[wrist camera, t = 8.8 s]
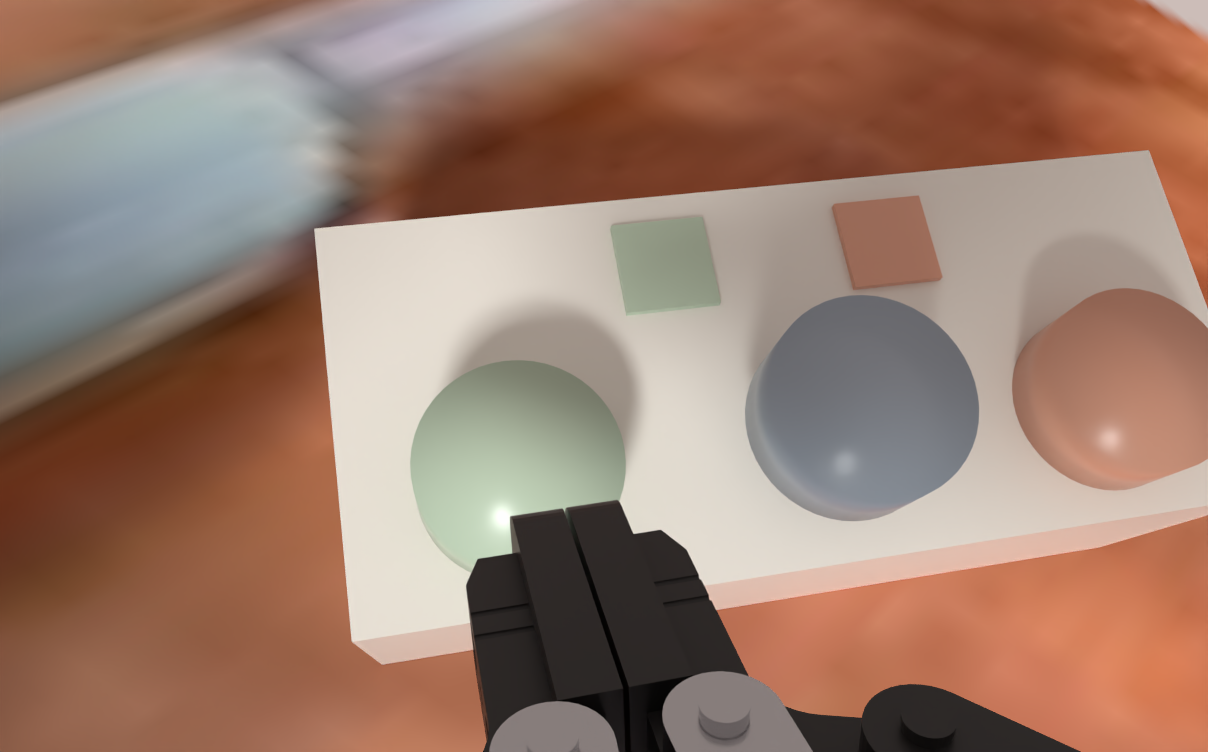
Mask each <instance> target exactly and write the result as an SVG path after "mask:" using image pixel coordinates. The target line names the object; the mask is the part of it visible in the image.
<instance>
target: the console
mask: <svg viewBox="0 0 1208 752" xmlns="http://www.w3.org/2000/svg"><path fill="white" fill-rule="evenodd" d="M314 231H315V242H316V253H317V264H318V275H319V285H320V296H321V307H322V318H323V329H324V340H325V351H326V362H327V373H328V384H329V395H330V406H331V417H332V428H333V439H334V450H335V461H336V472H337V483H338V494H339V505H340V516H341V527H342V538H343V549H344V560H345V571H346V582H347V593H348V604H349V615H350V626H351V637H352V642H353V643H354V644H355V645H357V646H358V647H359V648H361V649H362V650H363V651H365V652H366V653H367V654H369V655H370V656H371V657H373V658H374V659H375V660H377V661H378V662H379V663H381V664H382V665H383V664H389V663H395V662H402V661H408V660H414V659H420V658H426V657H432V656H438V655H444V654H450V653H457V652H463V651H469V650H473V643H472V635H471V626H470V618H469V609H468V600H467V592H466V584H467V581H468V579H469V577H470V575H471V572H469V571H466V570H465V569H463V568H462V567H460V566H458V565H457V564H455V563H454V562H453V561H452V560H450V559H449V558H448V557H447V556H446V555H445V554H444V553H443V552H442V551H441V550H440V549H439V548H438V547H437V546H436V544H435V543H434V542H433V540H432V539H431V537H430V536H429V534H428V532H427V530H426V528H425V526H424V524H423V522H422V520H421V517H420V514H419V510H418V507H417V503H416V499H415V495H414V491H413V485H412V480H411V470H410V458H411V448H412V444H413V439H414V435H415V432H416V430H417V427H418V424H419V422H420V420H421V418H422V416H423V414H424V413H425V411H426V409H427V408H428V406H429V405H430V404H431V402H432V401H433V400H434V398H435V397H436V396H437V395H438V394H439V393H440V392H441V391H442V390H443V389H444V388H445V387H446V386H448V385H449V384H450V383H451V382H453V381H454V380H455V379H457V378H459V377H460V376H462V375H463V374H465V373H467V372H469V371H471V370H473V369H476V368H478V367H481V366H484V365H487V364H490V363H495V362H501V361H511V360H525V361H535V362H540V363H545V364H548V365H551V366H554V367H557V368H560V369H562V370H564V371H566V372H568V373H571V374H572V375H574V376H575V377H577V378H579V379H580V380H582V381H583V382H584V383H585V384H587V385H588V386H589V387H590V388H592V389H593V390H594V391H595V392H596V394H597V395H598V396H599V397H600V398H601V399H602V400H603V401H604V403H605V404H606V406H607V407H608V408H609V410H610V411H611V413H612V415H613V417H614V419H615V420H616V423H617V425H618V428H619V430H620V433H621V436H622V440H623V444H624V449H625V458H626V474H625V481H624V487H623V491H622V494H621V497H620V501H619V502H620V504H621V506H622V508H623V510H624V513H625V515H626V517H627V520H628V522H629V525H630V527H631V529H632V532H633V534H637V533H643V532H649V531H656V530H662V531H663V532H665V533H666V534H667V535H669V536H670V537H671V538H672V539H674V540H675V541H676V542H678V543H679V544H680V545H681V546H683V547H684V548H685V549H686V550H687V552H688V554H689V556H690V558H691V560H692V562H693V564H694V566H695V568H696V570H697V572H698V574H699V579H701V580H702V582H703V584H704V586H705V588H706V590H707V592H708V594H709V600H711V601H712V603H713V605H714V607H715V609H716V610H720V609H726V608H732V607H738V606H744V605H750V604H756V603H762V602H768V601H775V600H781V599H787V598H793V597H799V596H805V595H811V594H817V593H824V592H830V591H836V590H842V589H848V588H854V587H860V586H866V585H872V584H879V583H885V582H891V581H897V580H903V579H909V578H915V577H921V576H928V575H934V574H940V573H946V572H952V571H958V570H964V569H970V568H976V567H983V566H989V565H995V564H1001V563H1007V562H1013V561H1019V560H1025V559H1031V558H1038V557H1044V556H1050V555H1056V554H1062V553H1068V552H1074V551H1080V550H1087V549H1093V548H1098V547H1102V546H1105V545H1109V544H1112V543H1115V542H1119V541H1122V540H1125V539H1129V538H1132V537H1136V536H1139V535H1142V534H1146V533H1149V532H1153V531H1156V530H1159V529H1163V528H1166V527H1169V526H1173V525H1176V524H1180V523H1183V522H1186V521H1190V520H1193V519H1196V518H1200V517H1203V516H1207V515H1208V459H1207V460H1205V461H1203V462H1202V463H1200V464H1198V465H1195V466H1193V467H1190V468H1188V469H1185V470H1182V471H1180V472H1177V473H1174V474H1171V475H1169V476H1166V477H1163V478H1161V479H1158V480H1155V481H1153V482H1150V483H1147V484H1144V485H1142V486H1139V487H1136V488H1131V489H1127V490H1116V491H1115V490H1102V489H1097V488H1092V487H1089V486H1086V485H1083V484H1080V483H1078V482H1076V481H1074V480H1072V479H1070V478H1068V477H1066V476H1065V475H1063V474H1061V473H1060V472H1058V471H1057V470H1056V469H1054V468H1053V467H1052V466H1051V465H1049V464H1048V463H1047V462H1046V461H1045V460H1044V459H1043V458H1042V457H1041V456H1040V455H1039V454H1038V452H1037V451H1036V450H1035V449H1034V448H1033V446H1032V445H1031V443H1030V442H1029V440H1028V439H1027V437H1026V436H1025V434H1024V432H1023V430H1022V428H1021V426H1020V423H1019V421H1018V418H1017V415H1016V412H1015V408H1014V403H1013V395H1012V379H1013V373H1014V368H1015V365H1016V362H1017V359H1018V357H1019V355H1020V353H1021V351H1022V349H1023V348H1024V346H1025V345H1026V344H1027V342H1028V341H1029V340H1030V339H1031V338H1032V337H1033V336H1034V335H1035V334H1037V333H1038V332H1039V331H1041V330H1042V329H1043V328H1045V327H1046V326H1048V325H1049V324H1050V323H1052V322H1053V321H1055V320H1056V319H1058V318H1059V317H1060V316H1062V315H1063V314H1065V313H1066V312H1067V311H1069V310H1070V309H1072V308H1073V307H1074V306H1076V305H1077V304H1079V303H1080V302H1082V301H1083V300H1084V299H1086V298H1088V297H1090V296H1092V295H1094V294H1096V293H1099V292H1102V291H1106V290H1111V289H1119V288H1131V289H1140V290H1145V291H1150V292H1153V293H1156V294H1159V295H1162V296H1164V297H1166V298H1168V299H1171V300H1173V301H1175V302H1176V303H1178V304H1180V305H1181V306H1183V307H1184V308H1186V309H1187V310H1188V311H1190V312H1191V313H1193V314H1194V315H1195V316H1196V317H1197V318H1198V319H1199V320H1200V321H1202V322H1203V323H1204V324H1205V326H1206V327H1207V328H1208V308H1207V306H1206V303H1205V300H1204V297H1203V295H1202V292H1201V289H1200V287H1199V284H1198V281H1197V279H1196V276H1195V273H1194V271H1193V268H1192V265H1191V262H1190V260H1189V257H1188V254H1187V252H1186V249H1185V246H1184V244H1183V241H1182V238H1181V236H1180V233H1179V230H1178V227H1177V225H1176V222H1175V219H1174V217H1173V214H1172V211H1171V209H1170V206H1169V203H1168V201H1167V198H1166V195H1165V193H1164V190H1163V187H1162V184H1161V182H1160V179H1159V176H1158V174H1157V171H1156V168H1155V166H1154V163H1153V160H1152V158H1151V155H1150V152H1149V150H1146V151H1135V152H1124V153H1114V154H1103V155H1092V156H1082V157H1071V158H1061V159H1050V160H1039V161H1029V162H1018V163H1007V164H997V165H986V166H976V167H965V168H954V169H944V170H933V171H922V172H912V173H901V174H891V175H880V176H869V177H859V178H848V179H837V180H827V181H816V182H806V183H795V184H784V185H774V186H763V187H752V188H742V189H731V190H721V191H710V192H699V193H689V194H678V195H667V196H657V197H646V198H636V199H625V200H614V201H604V202H593V203H582V204H572V205H561V206H551V207H540V208H529V209H519V210H508V211H497V212H487V213H476V214H466V215H455V216H444V217H434V218H423V219H412V220H402V221H391V222H381V223H370V224H359V225H349V226H338V227H327V228H317V229H314ZM852 295H869V296H878V297H883V298H888V299H891V300H894V301H897V302H900V303H903V304H905V305H907V306H910V307H912V308H914V309H916V310H917V311H919V312H921V313H922V314H924V315H926V316H927V317H928V318H930V319H931V320H932V321H934V322H935V323H936V324H937V325H938V326H940V327H941V328H942V329H943V330H944V331H945V332H946V333H947V334H948V335H949V337H950V338H951V339H952V340H953V341H954V343H955V344H956V345H957V347H958V348H959V350H960V351H961V353H962V354H963V356H964V357H965V359H966V361H967V363H968V365H969V367H970V370H971V372H972V375H973V378H974V381H975V384H976V389H977V393H978V401H979V424H978V429H977V435H976V438H975V441H974V444H973V447H972V449H971V451H970V453H969V455H968V457H967V459H966V461H965V462H964V464H963V465H962V467H961V468H960V469H959V471H958V472H957V473H956V474H955V475H954V476H953V477H952V478H951V479H950V480H949V481H947V482H946V483H945V484H943V485H942V486H941V487H939V488H938V489H936V490H934V491H932V492H931V493H929V494H927V495H925V496H923V497H921V498H919V499H917V500H915V501H914V502H912V503H910V504H908V505H906V506H904V507H902V508H900V509H898V510H896V511H894V512H893V513H890V514H888V515H885V516H882V517H880V518H875V519H871V520H865V521H841V520H835V519H830V518H826V517H823V516H820V515H817V514H814V513H812V512H810V511H808V510H806V509H804V508H802V507H800V506H799V505H797V504H795V503H794V502H792V501H791V500H790V499H788V498H787V497H786V496H785V495H783V494H782V493H781V492H780V491H779V490H778V489H777V488H776V487H775V486H774V485H773V484H772V483H771V482H770V480H769V479H768V478H767V476H766V475H765V474H764V472H763V471H762V469H761V467H760V466H759V464H758V462H757V461H756V458H755V456H754V454H753V451H752V449H751V446H750V443H749V439H748V436H747V430H746V423H745V406H746V398H747V394H748V390H749V386H750V383H751V381H752V379H753V376H754V374H755V372H756V371H757V369H758V367H759V366H760V364H761V363H762V361H763V360H764V359H765V358H766V356H767V355H768V354H769V352H770V351H771V350H772V349H773V347H774V346H775V345H776V343H777V342H778V341H779V340H780V338H781V337H782V336H783V334H784V333H785V332H786V331H787V330H788V328H789V327H790V326H791V325H792V323H793V322H794V321H796V320H797V319H798V318H799V317H800V316H801V315H802V314H804V313H805V312H807V311H808V310H810V309H811V308H813V307H815V306H817V305H819V304H821V303H823V302H825V301H828V300H832V299H835V298H839V297H844V296H852Z"/></svg>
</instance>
